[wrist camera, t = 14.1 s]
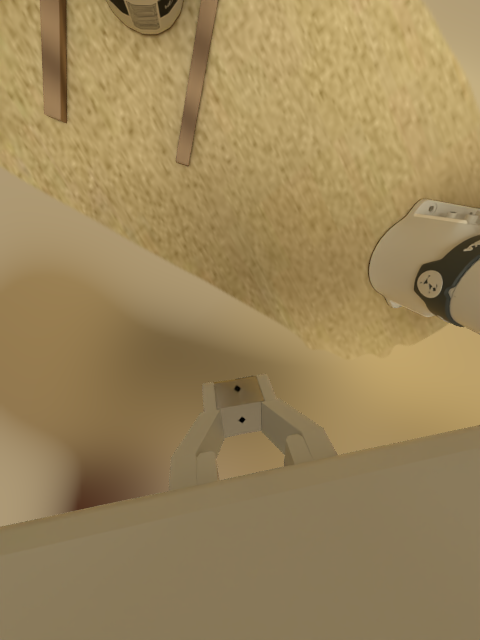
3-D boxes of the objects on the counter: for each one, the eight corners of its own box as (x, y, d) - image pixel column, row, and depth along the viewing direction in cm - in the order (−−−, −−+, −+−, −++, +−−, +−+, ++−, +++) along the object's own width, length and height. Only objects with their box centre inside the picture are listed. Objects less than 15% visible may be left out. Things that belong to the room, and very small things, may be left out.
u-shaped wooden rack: (194, 168, 32) (194, 166, 27) (43, 114, 27) (15, 101, 22) (243, -95, 22) (256, -161, 18) (29, -248, 18) (-23, -385, 13)
